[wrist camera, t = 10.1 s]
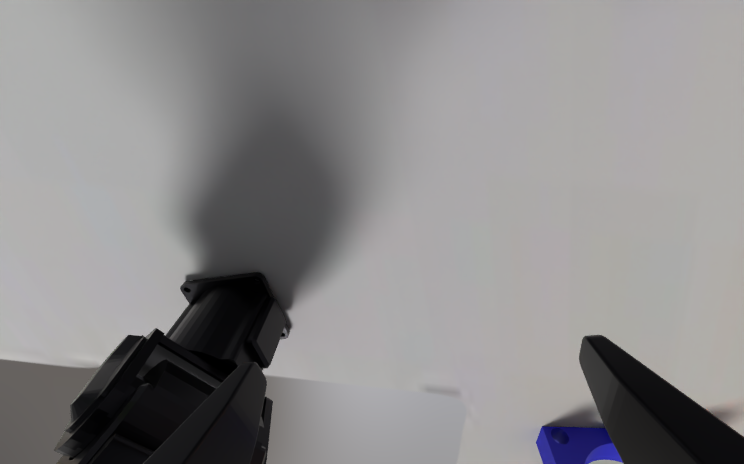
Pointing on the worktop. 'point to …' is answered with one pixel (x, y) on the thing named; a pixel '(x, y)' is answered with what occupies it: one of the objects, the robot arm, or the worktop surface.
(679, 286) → the worktop surface
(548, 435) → the cable clip
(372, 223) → the worktop surface
